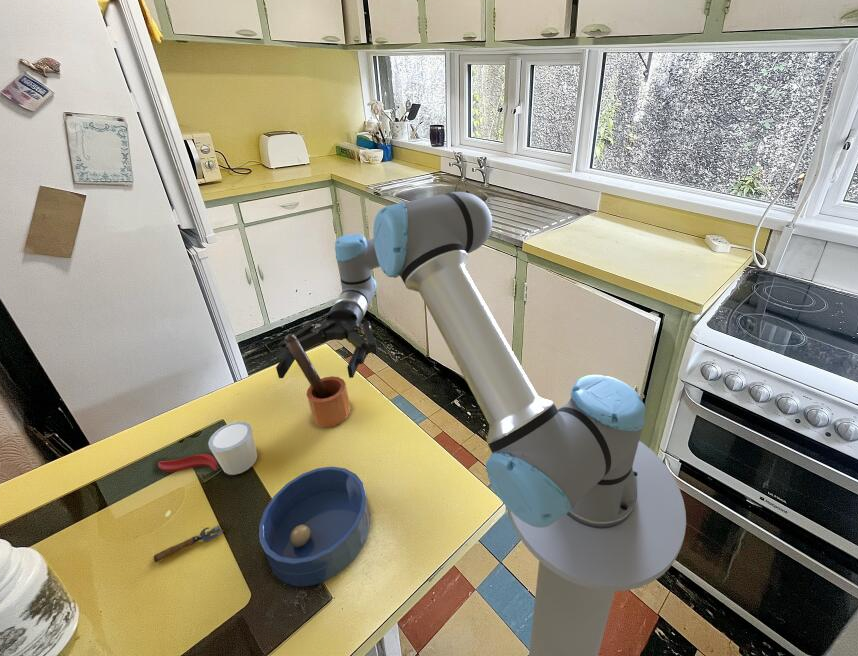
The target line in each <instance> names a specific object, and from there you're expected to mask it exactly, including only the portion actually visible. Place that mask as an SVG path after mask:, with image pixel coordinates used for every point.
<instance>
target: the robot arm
mask: <svg viewBox="0 0 858 656" xmlns="http://www.w3.org/2000/svg"><path fill="white" fill-rule="evenodd" d="M374 217H375V218H374V221H373V230H372V231H373V232H372V233H373V236H372V237H373V238H370V239H367V238H366V237H365V236H364V235H363V234H360V233H353V234H344V235H341V236H339V237H337V239H336V240H335V242H334V251H335V259H336V263H337V268H338V273H339V280H340V285H341V292H340V294H339V296H338V297H337V299H336V301H335V302H334V303H333V305H332V306H331V308H330V310H329V311H328V313H327V315H326V318H325V320H324V321H323V322H322V323H316V322H315V321H316V320H310V321H309V322H308V323H307V324H306V325H305V326H303V327H302V328H300V329H298V330H297V331H296V332H294V333H293V334H294V335H295V336H296V337H297V339H298V341H299V342H300V344H301V346H302V348H303V349H304V351H306V350H307V349H309V348H311V347H313V346H316V345H318V344H319V343H320V344H323V343H325V342H327V341H335V340H337V341H343V340H346V341H347V342H348V343H349V344H351V345H352V346H353V347H354V351H353V353H352V356H351V357H350V360H349V362H348V365H347V366H346V369H347V374H348V378H349V379H354V377H355V375H356V372H357V370H358V367H359V365H363V364H364V363H365V361H366V358H367V356H368V355H369V354H372V355H376V354H378V347H377V346H378V345H377V341H376V339H375V337H374V334H373V332H372V326H371V321H370V320H365V321H364V322H363V323H362V321H363V319H364V317H365V315H366V313H367V310H368V308H369V306H370V304H371V303H372V300H373V299H374V297H375V294H376V293H377V292H376V291H377V287H378V285H377V281H376V280H375V278H374V277H373V276H372V272H371V270H374V269H378V268H380V269H381V271H382V272H383V274H385V276H386V277H388V278H393V279H397V278H398V277H400V278H401V280H402V282H403V284H404V286H405V288H406V289H407V290H409V291H413V292H417V293H419V295H420V297H421V298H422V300H423V302H424V304H425V306H426V308H427V309H428V311H429V313H430V315H431V317H432V319H433V321H434V323H435V325H436V327H437V329H438V331H439V332H440V334H441V336H442V338H443V340H444V342H445V344H446V345H447V347H448V349H449V351H450V353H451V355H452V357H453V359H454V361H455V363H456V365H457V366H458V368H459V370H460V373H461V375H462V376H463V378H464V380H465V382H466V384H467V385H468V387H469V389H470V391H471V393H472V395H473V397H474V399H475V400H476V403H477V404H478V406H479V408H480V410H481V412H482V414H483V416H484V417H485V420H486V421H487V424H488V425H489V426H488V428H489V429H488V433H487V437H486V440H485V441H486V444H487V446H488V448H489V449H490V451H491V454H490V455H489V456H488V459H487V460H486V462H485V472H486V473H487V478H488V481H489V483H490V486H491V487H492V489H493V491H494V492H495V494H496V495H497V497H498V498H499V500H500V501H501V502H502V503H503V505H504V506H505V507H506V509H507V508H508V509H509V510H510V511H511V512H512V513H513V514H514V515H516V516H517V517H518V518H519V519H521V520H522V521H523V522H525V523H527V524H529V525H531V526H534V527H538V528H544V527H547V526H550V525H551V524H552V523H554V522H555V521H556V520H557V519H559V518H560V517H561V516H562V515H565V514H567V515H568V516H569V517H570V518H572V519H573V520H575V521H577V522H578V523H580V524H583V525H585V526H588V527H592V528H600V529H604V528H611V527H615V526H618V525H620V524H621V523H623V522H624V521H626V520H627V519H628V518H629V516H630V515H631V513H632V512H633V509H634V506H635V502H636V498H637V487H636V482H635V477H634V476H637V475H638V474H637V472H635V471H633V468H632V466H633V462H634V459H635V455H636V451H637V447H638V443H639V441H640V439H641V435H642V430H643V428H644V426H645V414H646V407H645V404H644V402H643V399H642V397H641V396H640V394H639V393H638V392H637V391H636V390H635V389H634V388H633V387H632V386H630V385H629V384H628V383H626V382H624V381H622V380H620V379H618V378H615V377H613V376H608V375H607V376H606V375H602V374H589V375H584V376H582V377H580V378H578V379H577V380H576V381H574V383H573V384H572V389H570V395H569V396H570V399H569V401H568V402H567V403H565V404H563V405H562V406H561V407H560V408H557V407H556V405H555V403H554V402H553V400H550V399H546V398H543V397H541V396H539V395H538V392H537V391H536V390H535V388H534V386H533V384H532V383H531V381H530V379H529V377H528V376H527V374H526V373H525V370H524V369H523V367H522V365H521V364H520V362H519V359H518V358H517V356H516V355H515V353H514V351H513V350H512V347H511V346H510V344H509V342H508V341H507V339H506V337H505V335H504V334H503V332H502V330H501V328H500V327H499V325H498V323H497V322H496V319H495V318H494V316H493V314H492V312H491V311H490V309H489V307H488V306H487V304H486V303H485V301H484V299H483V297H482V295H481V293H480V291H479V290H478V288H477V286H476V285H475V283H474V281H473V280H472V278H471V276H470V274H469V273H468V271H467V269H466V265H467V261H468V258H469V255H468V254H470V253H473V252H474V251H477V250H478V249H479V248H480V247H482V246H483V245H484V244H485V243H486V242H487V240H489V239H488V238H489V237H490V235H491V233H492V229H493V217H492V213H491V211H490V208H489V207H488V205H487V204H486V202H485V201H483V199H481V198H480V197H478V196H477V195H475V194H473V193H470V192H466V191H451V192H447V193H444V194H437V195H433V196H428V197H423V198H419V199H414V200H408V201H399V202H398V203H394V204H390V205H387V206H384V207H382V208H380V209H379V210H378V211H377V213H376V215H375V216H374ZM359 331H360V332H361V333H362V335H364V338H365V341H364V340H363V339H362V337H360V336H359V334H357V333H358V332H359ZM278 347H279V352H280V355H279V362H278V364H277V365H276V366H275V369H276V373H277V377H278V379H284V378H285V376H286V374H287V373H288V371H289V369H290V368H291V367H292V366H293V364H294V362H295V361H296V360H295V358H294V357H293V355H292V353H291V352H290V350H289V348H288V347H287V345H286V343H285V341H284V339H283V340H281V341H279V342H278Z"/></svg>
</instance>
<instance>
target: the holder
mask: <svg viewBox="0 0 858 656" xmlns="http://www.w3.org/2000/svg"><path fill="white" fill-rule="evenodd" d="M320 379H321V380H322V382H323V384H324V385H325V387H326V389H327V391H328V392H329V394H330V396H331V397H329V398H324V399H319V398H318V397H317V395H316V393H315V392H314V390H313V388H312V387H311V385H309V386H308V388H307V390H306V399H307V402H308V403H307V404H308V407H309V411H310V414H311V418H312V420H313V423H314V424H315V425H316V426H318V427H321V428H330V427H331V428H332V427H334V426H337V425H339V424H341V423H343V422H344V421H345V420H346V419H347V418H348V417H349V416H350V414H351V404H350V397H349V394H348V393H349V392H348V388H347V383H346V382H345V380H344V379H343V378H341V377H339V376H333V375H332V376H331V375H330V376H324V377H322V378H320Z"/></svg>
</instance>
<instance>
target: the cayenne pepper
mask: <svg viewBox="0 0 858 656" xmlns="http://www.w3.org/2000/svg"><path fill="white" fill-rule="evenodd" d="M157 466H158V468H159V470H160V471H162V472H165V473H166V472H167V473H172V472H181V471H185V470H188V469H193V468H198V467H209V468H211V469H213V470H214V471H216V472H217V471H218V468H219V467H218V461H217V459H216V458H215V456H212V455H211V454H209V453H198V454H194V455H190V456H186V457H183V458H178V459H169V460H159V461H158V463H157Z"/></svg>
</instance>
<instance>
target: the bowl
mask: <svg viewBox="0 0 858 656" xmlns="http://www.w3.org/2000/svg"><path fill="white" fill-rule="evenodd" d="M298 525H307V526H308V527H309V528H310V530H311V537H310V539H309V541H308V542H307V544H305V545H304V546H302V547H298V548H297V547H294V546H292V545H291V543H290V534H291V532H292V530H293V529H294V528H295V527H297V526H298ZM258 527H259V529H258V530H259V531H258V533H259V534H258V535H259V538H258V539H259V543H260V545H261V548H262V550H263V553H264V555H265V557H266V559H267V562H268V564H269V566H270V569H271V570H272V572H273V574H274V576H276V578H278V579H279V580H281V581H282V582H283V583H284V584H287V585H291V586H293V587H311V586H316V585H319V584H322V583H324V582H327V581H329V580H331V579H333V578H334V577H336V576H337V575H339V574H341V573H342V572H343V571H344V570H346V569H347V568H348V567H349V566H350V565H351V564H352V563H353V562H354V560H356V558H357V557H358V555H359V554H360V553H361V551H362V549H364V546H365V544H366V542H367V540H368V536H369V533H370V530H371V512H370V506H369V502H368V497H367V492H366V488H365V485H364V482H363V481H362V480H361V478H360V477H359V476H358V475H357V473H355V472H353V471H351V470H349V469H347V468H345V467H338V466H325V467H324V466H323V467H318V468H314V469H311V470H309V471H306V472H304V473H301V474H299V475H297V476H296V477H295V478H293V479H291V480H290V481H288V482H287V483H286V484H285V485H283V486H282V487H281V488H280V489H279V491H278V492H276V493H275V494H274V495H273V497H272V499H271V500H270V501H269V502H268V504H267V505H266V507H265V508H264V511H263V513H262V516H261V519H260V521H259V526H258Z"/></svg>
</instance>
